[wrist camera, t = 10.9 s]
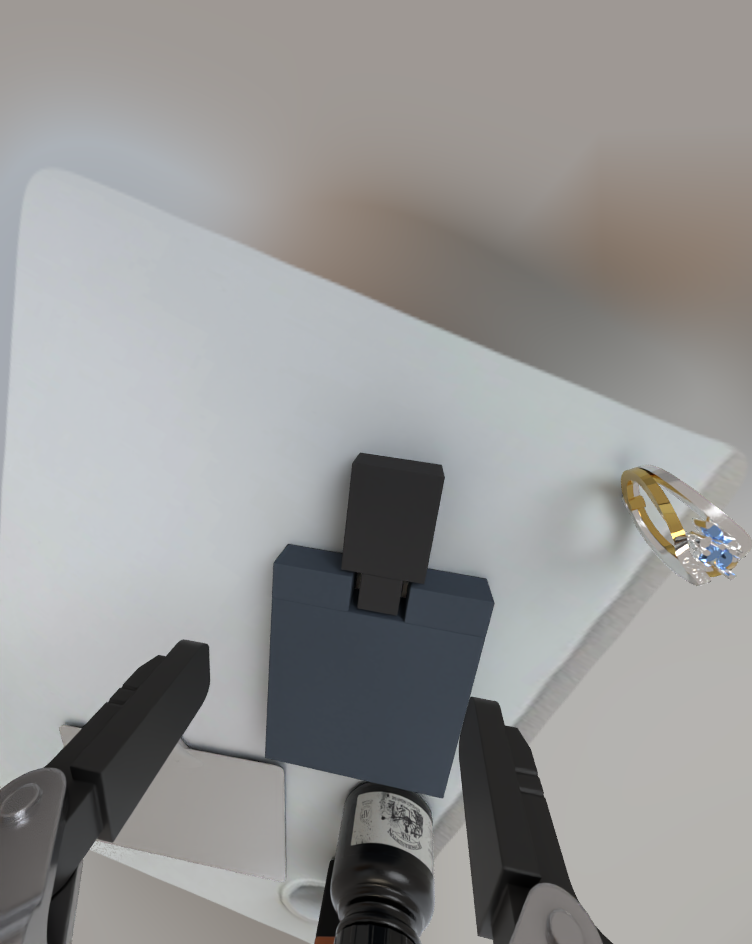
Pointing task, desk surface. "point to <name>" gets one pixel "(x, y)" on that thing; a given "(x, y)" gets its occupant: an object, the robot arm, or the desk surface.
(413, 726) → the pad mat
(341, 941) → the ink bottle
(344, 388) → the desk surface
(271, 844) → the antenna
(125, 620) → the desk surface
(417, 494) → the pad tile
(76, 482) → the desk surface
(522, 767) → the robot arm
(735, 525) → the ring
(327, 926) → the battery
